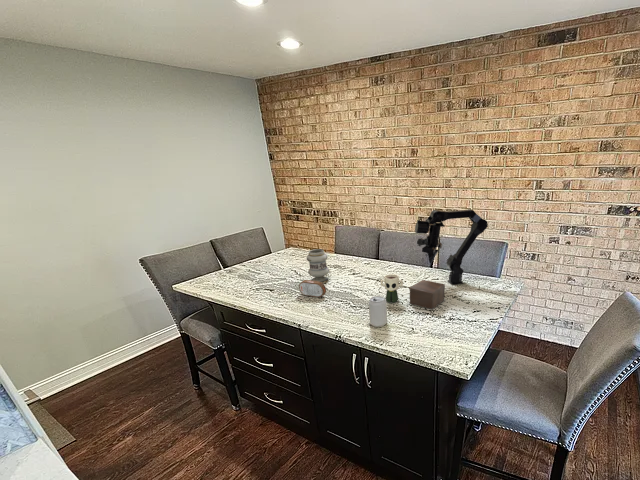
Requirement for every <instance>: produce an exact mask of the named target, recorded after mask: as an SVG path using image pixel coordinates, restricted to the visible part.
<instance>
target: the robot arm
mask: <svg viewBox="0 0 640 480" xmlns="http://www.w3.org/2000/svg"><path fill="white" fill-rule="evenodd" d="M466 218H467V219H469V220H470V222H472V224H471V227H470V231H469V233H468V234H467V236H466V237H465V238H464V240H463V241H462V243H461V244H460V246H459V248H458V249H457V251H456V252H455V253H454V254H450V255H449V257H448V258H447V259H446V262H445V263H446V267H447V268H448V269H449V274H448V280H447V282H448V283H450V284H451V285H453V286H454V285H463V284H464V281H463V274H464V272H465V271H464V269H463V268H462V267H461V266H462V263H463V259H464V257H465V256H466V254H467V252H468V251H469V249H470V248H471V246H472V245H473V244H474V242H475V241H476V239H477V238H478V236H480V235H481V234H483V233H484V232H485V231H486V229H488V227H489V226H488V225H489V223H488V221H487V220H486V219H484V218H483V217H481V216H480V215H478V214H477V213H476V211H475V210H474V209H471V208H468V209H459V210H442V209H433V210H432V211H431V212H430V214H429V216H427V218H426V219H425V220H420V219H417V220H416V223H415V226H414V233H415V234H419V235H421V234H422V235H427V233H428V235H427V236H426V237H423V238H422V237H421V238H418V239H417V240H416V244H417V246H418V247H421V246H423V247H422V248H421V253H426V254H427V257H428V263H429V264H432V262H433V261H434V260H435V258H436V256H437V254H438V253H439V252H440V250H439V249H442V248H443V243H442V242H439V241H440V239H441V236H440V234H441V228H445V226H446V225H445V224H444V223H443V222H445V221H448V220H455V219H466ZM437 248H439V249H437Z"/></svg>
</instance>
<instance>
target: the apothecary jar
mask: <svg viewBox="0 0 640 480" xmlns="http://www.w3.org/2000/svg"><path fill="white" fill-rule="evenodd" d="M327 259H328V255H327V253H325V251H324V249H321V248H315V249H311V250H309V251H308V254H307V255H306V261H307V262H308V264H309V269H308V271H307V273H308V275H309V276H311V277H312V278H311V280H312V281H319V282H321V283H323V284H324V283H326V282H328V281H329V278H328V277H326V276H327V275H329V273H330V268H329V267H328V266H327Z"/></svg>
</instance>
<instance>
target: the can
mask: <svg viewBox="0 0 640 480" xmlns="http://www.w3.org/2000/svg"><path fill="white" fill-rule="evenodd" d="M387 311H388V307H387V301H386V297H384V296H381V295H374V296H371V297H370V298H369V301H368V314H369V315H368V316H369V317H368V318H369V324H370V325H371V326H372V327H376V328H379V327H380V328H381V327H384V326H385V325H386V324H387V323H388V312H387Z"/></svg>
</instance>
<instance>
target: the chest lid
mask: <svg viewBox="0 0 640 480" xmlns="http://www.w3.org/2000/svg"><path fill="white" fill-rule="evenodd" d="M444 286H445V287H446V284H445V283H441V282H436V281H431V280H426V279H421V280H420V281H418V282H417V283H415V284H413V285H411V286H409V287H408V290H409V291H410V290H414V291H419V292H423V293H428V294H433V293H435V292H436V291H438V290H439V289H441V288H442V287H444Z"/></svg>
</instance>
